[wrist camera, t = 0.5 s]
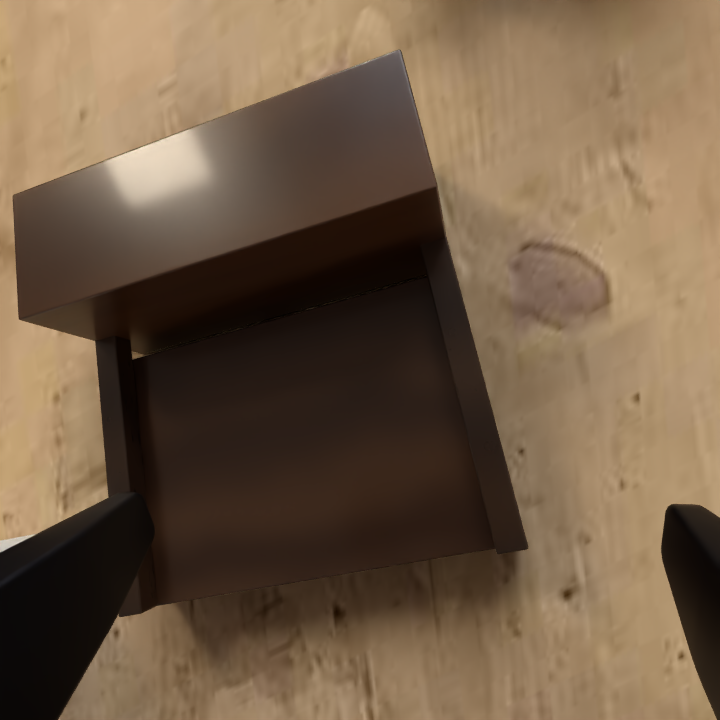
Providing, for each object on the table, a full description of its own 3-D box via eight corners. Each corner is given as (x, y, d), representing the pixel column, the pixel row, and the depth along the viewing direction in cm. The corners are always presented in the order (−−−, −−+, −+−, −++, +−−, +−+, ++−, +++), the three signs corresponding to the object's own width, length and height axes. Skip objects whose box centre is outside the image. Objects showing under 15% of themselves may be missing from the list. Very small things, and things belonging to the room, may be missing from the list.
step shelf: (521, 533, 22) (542, 577, 14) (168, 594, 26) (33, 656, 18) (424, 164, 26) (400, 47, 19) (132, 260, 30) (11, 194, 22)
